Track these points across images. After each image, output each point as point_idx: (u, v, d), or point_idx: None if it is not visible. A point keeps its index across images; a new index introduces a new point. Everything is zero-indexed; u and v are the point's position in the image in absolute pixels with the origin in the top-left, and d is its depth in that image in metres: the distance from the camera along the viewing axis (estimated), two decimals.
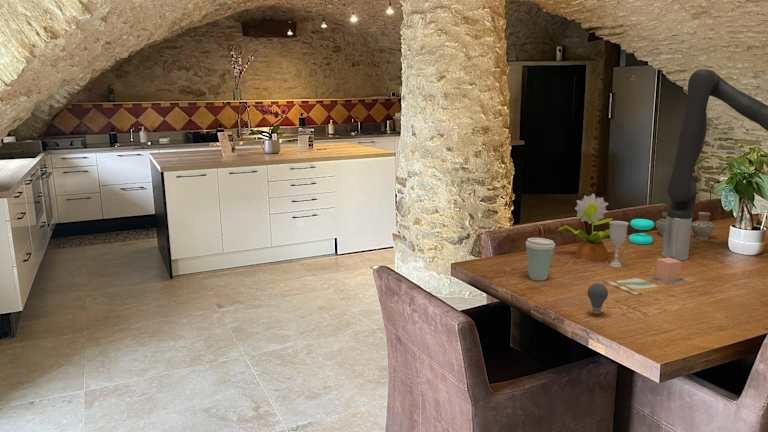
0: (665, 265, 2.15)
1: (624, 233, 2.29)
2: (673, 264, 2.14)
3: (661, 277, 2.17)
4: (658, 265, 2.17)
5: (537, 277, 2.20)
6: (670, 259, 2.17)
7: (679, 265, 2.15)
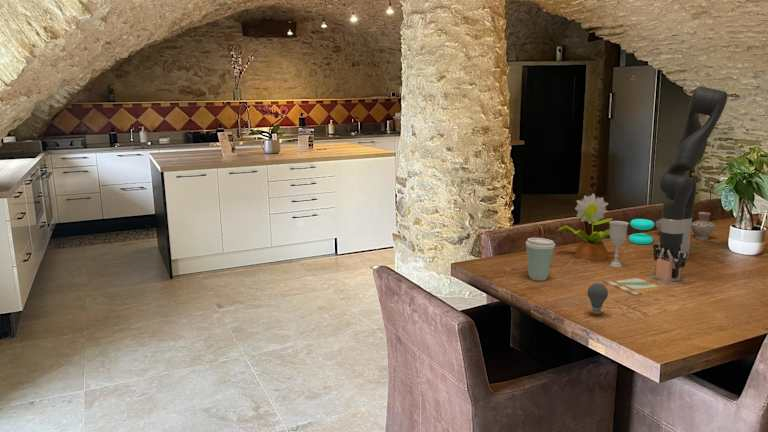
0: (665, 265, 2.15)
1: (624, 233, 2.29)
2: None
3: (661, 277, 2.17)
4: (658, 265, 2.17)
5: (537, 277, 2.20)
6: None
7: None
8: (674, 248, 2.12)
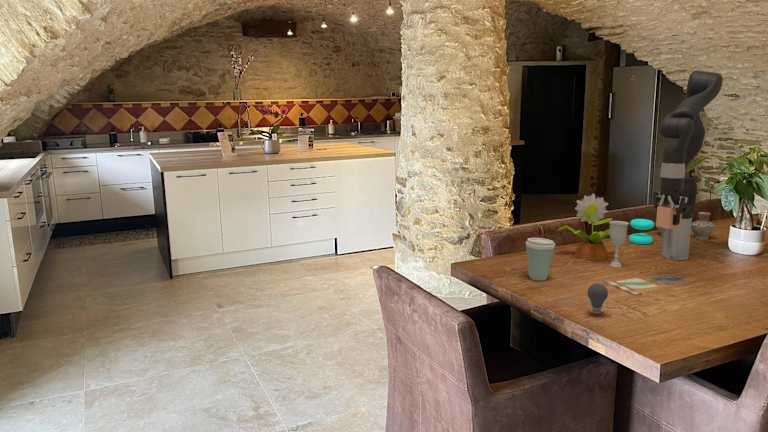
0: (665, 211, 2.09)
1: (624, 233, 2.29)
2: None
3: (662, 225, 2.11)
4: (659, 212, 2.12)
5: (537, 277, 2.20)
6: None
7: None
8: (675, 193, 2.07)
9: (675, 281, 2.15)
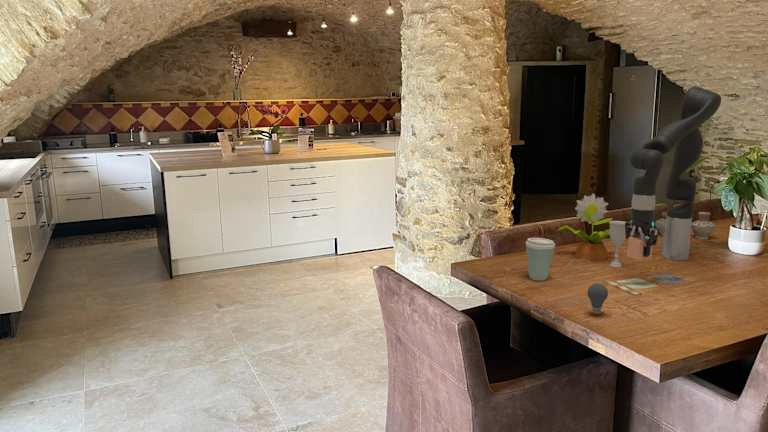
0: (636, 243, 2.08)
1: (624, 233, 2.29)
2: None
3: (632, 256, 2.10)
4: (629, 243, 2.11)
5: (537, 277, 2.20)
6: None
7: None
8: (645, 225, 2.05)
9: (675, 281, 2.15)
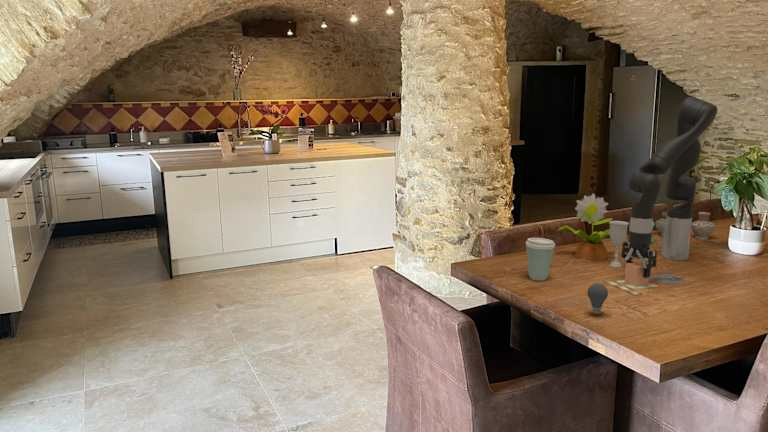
0: (633, 269, 2.10)
1: (624, 233, 2.29)
2: (642, 268, 2.09)
3: (630, 282, 2.12)
4: (627, 269, 2.13)
5: (537, 277, 2.20)
6: (639, 263, 2.13)
7: None
8: (642, 248, 2.07)
9: (675, 281, 2.15)
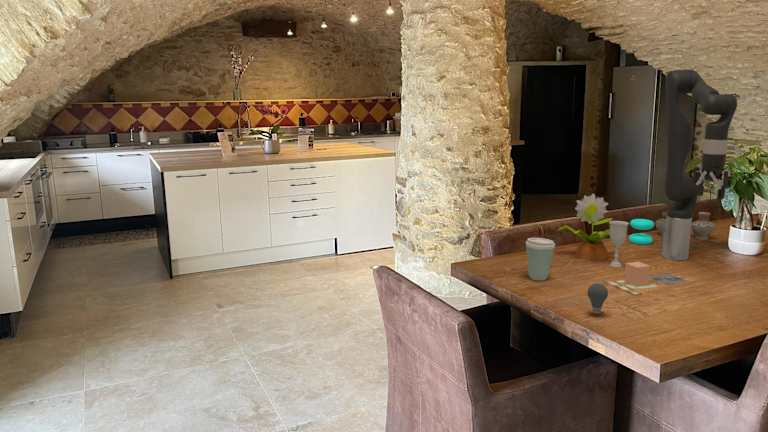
0: (633, 269, 2.10)
1: (624, 233, 2.29)
2: (642, 268, 2.09)
3: (630, 282, 2.12)
4: (627, 269, 2.13)
5: (537, 277, 2.20)
6: (639, 263, 2.13)
7: (648, 269, 2.10)
8: (717, 170, 2.09)
9: (675, 281, 2.15)
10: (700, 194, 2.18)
